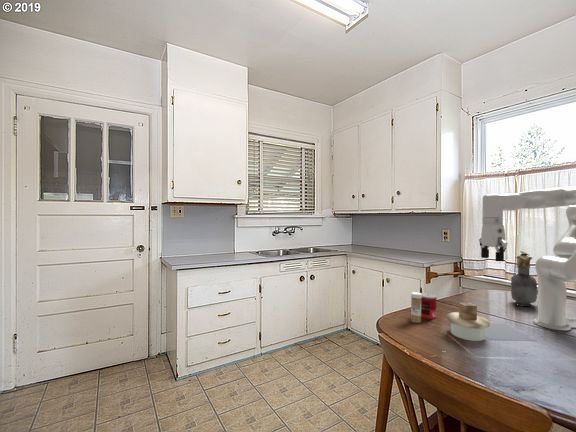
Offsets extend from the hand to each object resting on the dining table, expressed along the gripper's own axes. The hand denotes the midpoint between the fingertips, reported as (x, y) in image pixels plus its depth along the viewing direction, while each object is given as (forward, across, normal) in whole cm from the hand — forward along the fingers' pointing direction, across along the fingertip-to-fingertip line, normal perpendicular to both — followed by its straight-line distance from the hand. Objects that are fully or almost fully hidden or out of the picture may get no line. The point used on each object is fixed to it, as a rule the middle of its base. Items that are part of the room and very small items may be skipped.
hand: (492, 259), depth 129 cm
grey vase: (+31, +33, -39) cm, 60 cm away
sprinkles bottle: (+31, +4, +32) cm, 44 cm away
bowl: (+30, -11, +17) cm, 36 cm away
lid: (+24, -11, +17) cm, 32 cm away
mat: (+30, -7, +2) cm, 31 cm away
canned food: (+31, +10, +24) cm, 40 cm away
